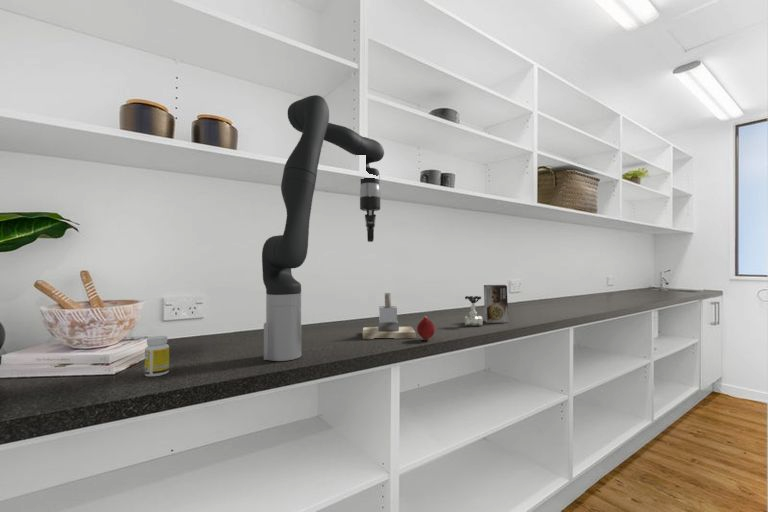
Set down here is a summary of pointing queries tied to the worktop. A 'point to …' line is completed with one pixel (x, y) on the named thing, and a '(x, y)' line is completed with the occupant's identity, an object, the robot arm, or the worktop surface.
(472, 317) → the valve
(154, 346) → the supplement bottle
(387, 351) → the worktop surface
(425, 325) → the onion
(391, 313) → the block
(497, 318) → the coffee box
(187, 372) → the worktop surface
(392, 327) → the shaft stand
